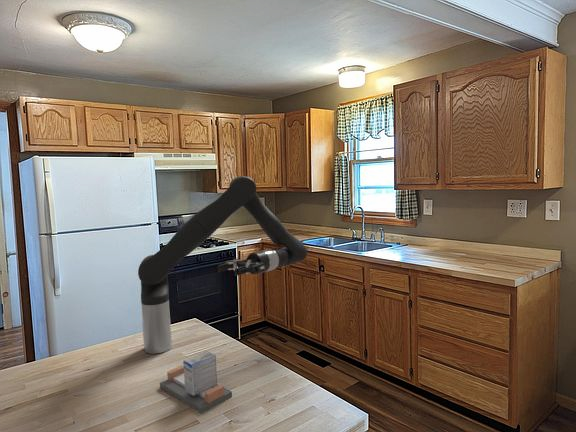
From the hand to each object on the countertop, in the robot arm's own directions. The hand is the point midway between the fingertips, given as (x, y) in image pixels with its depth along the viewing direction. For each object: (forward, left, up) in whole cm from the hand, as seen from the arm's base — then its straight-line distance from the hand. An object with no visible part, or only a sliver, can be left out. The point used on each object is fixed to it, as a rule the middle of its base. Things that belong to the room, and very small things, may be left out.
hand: (226, 270), depth 127 cm
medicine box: (+10, -19, -28) cm, 35 cm away
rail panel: (+7, -19, -30) cm, 36 cm away
